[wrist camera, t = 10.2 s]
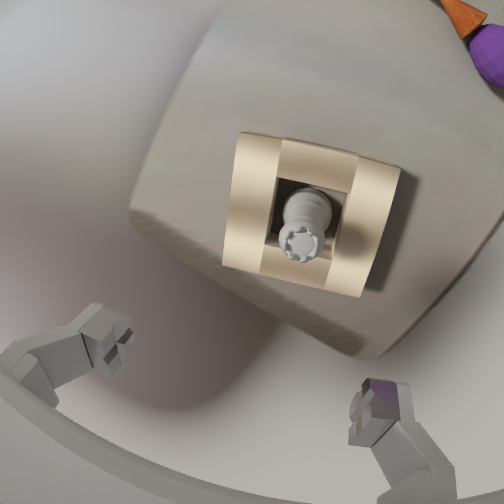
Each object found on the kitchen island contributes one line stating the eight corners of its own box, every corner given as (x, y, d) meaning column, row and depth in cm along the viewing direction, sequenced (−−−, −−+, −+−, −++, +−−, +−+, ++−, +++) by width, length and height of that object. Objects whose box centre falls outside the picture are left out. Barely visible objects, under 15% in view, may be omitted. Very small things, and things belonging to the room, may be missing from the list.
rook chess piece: (342, 211, 26) (347, 248, 19) (307, 242, 28) (299, 286, 21) (308, 176, 26) (301, 199, 18) (273, 209, 28) (254, 243, 21)
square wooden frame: (247, 130, 25) (238, 132, 22) (392, 163, 23) (400, 169, 20) (231, 251, 30) (222, 265, 28) (357, 281, 29) (359, 297, 26)
